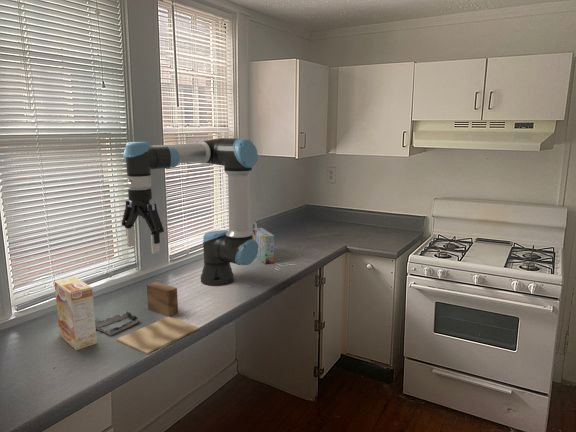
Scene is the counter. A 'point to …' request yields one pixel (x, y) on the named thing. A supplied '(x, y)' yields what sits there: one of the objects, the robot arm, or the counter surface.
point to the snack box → (264, 245)
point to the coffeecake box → (75, 312)
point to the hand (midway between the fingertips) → (143, 249)
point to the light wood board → (157, 335)
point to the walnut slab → (162, 299)
